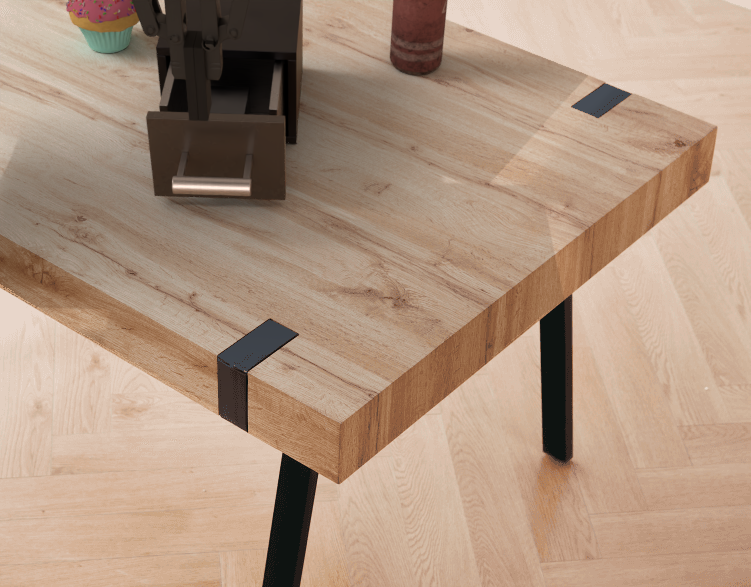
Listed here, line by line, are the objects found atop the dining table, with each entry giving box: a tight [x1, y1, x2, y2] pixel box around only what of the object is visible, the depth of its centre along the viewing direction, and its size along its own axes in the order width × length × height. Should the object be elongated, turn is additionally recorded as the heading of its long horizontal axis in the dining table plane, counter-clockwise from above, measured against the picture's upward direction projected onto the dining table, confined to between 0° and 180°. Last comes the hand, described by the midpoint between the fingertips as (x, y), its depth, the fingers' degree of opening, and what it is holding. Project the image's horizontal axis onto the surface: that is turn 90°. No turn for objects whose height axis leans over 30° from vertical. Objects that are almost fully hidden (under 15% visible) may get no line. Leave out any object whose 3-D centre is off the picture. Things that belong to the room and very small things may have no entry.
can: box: [389, 0, 448, 76], centre depth 122 cm, size 6×6×14 cm
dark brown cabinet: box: [155, 0, 304, 145], centre depth 115 cm, size 16×14×11 cm
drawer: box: [145, 58, 287, 201], centre depth 104 cm, size 20×13×9 cm, turn 1°
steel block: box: [210, 85, 251, 115], centre depth 106 cm, size 5×5×6 cm
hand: (200, 111), depth 87 cm, fingers closed
